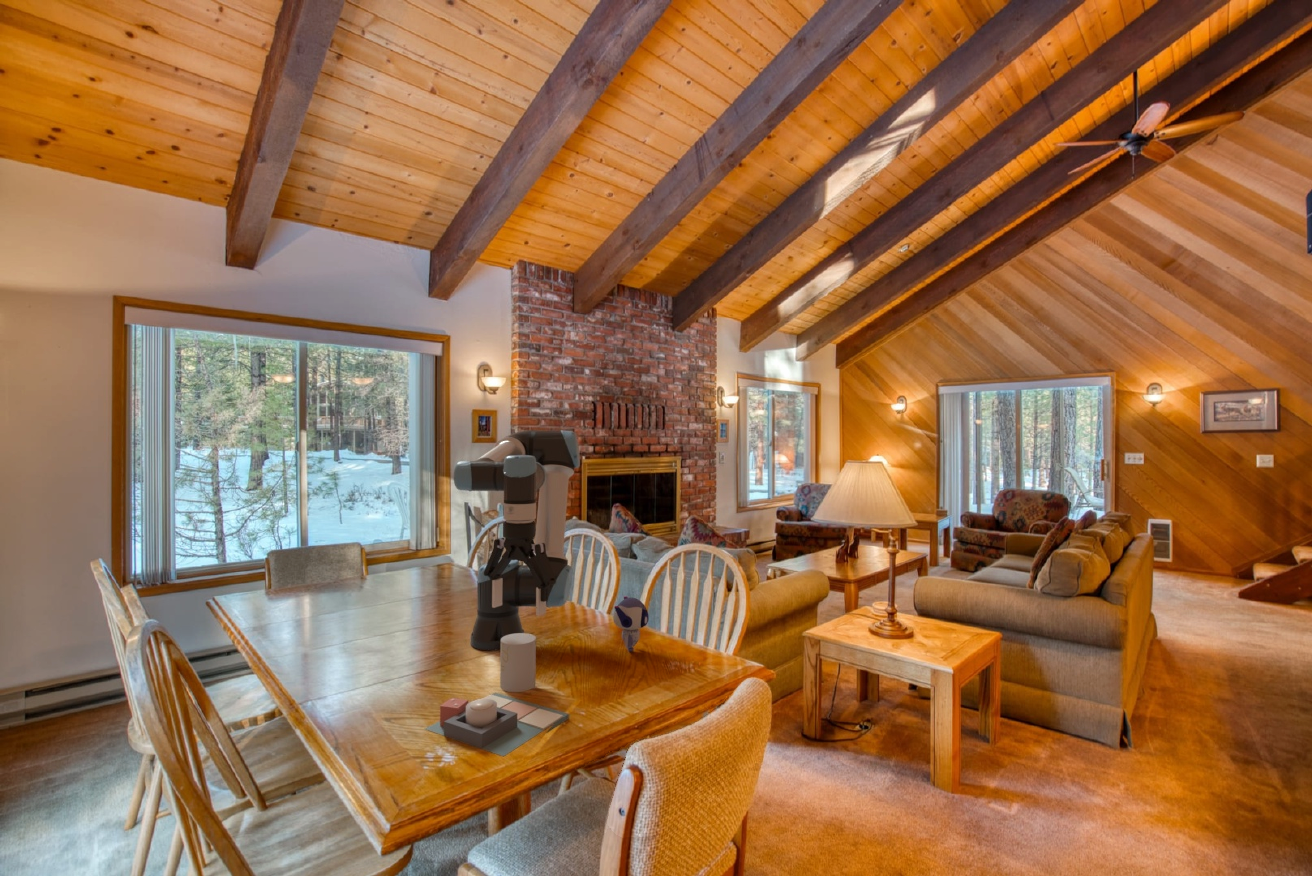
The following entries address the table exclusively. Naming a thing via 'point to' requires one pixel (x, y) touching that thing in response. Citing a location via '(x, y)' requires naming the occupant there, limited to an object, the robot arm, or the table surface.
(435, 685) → the table surface
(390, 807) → the table surface
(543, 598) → the robot arm
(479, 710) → the dome
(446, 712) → the die
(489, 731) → the board
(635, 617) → the toy
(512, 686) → the white cylinder
